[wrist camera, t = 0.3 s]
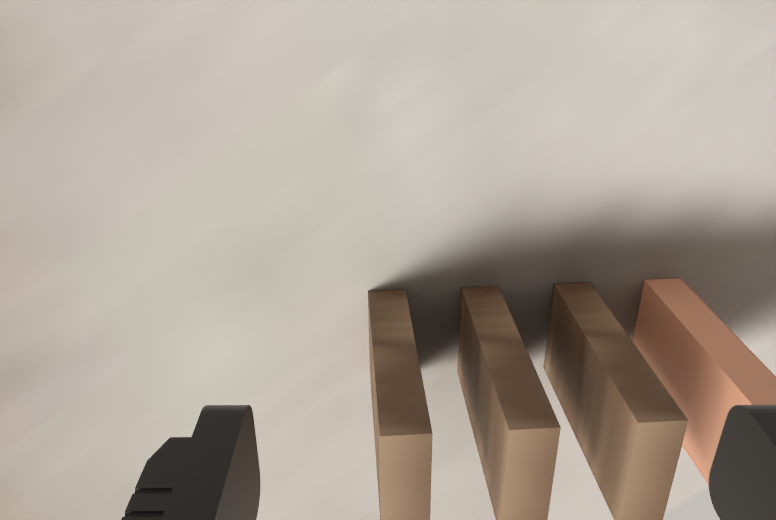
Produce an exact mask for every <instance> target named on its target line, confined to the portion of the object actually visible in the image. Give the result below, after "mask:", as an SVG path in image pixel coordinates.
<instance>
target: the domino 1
mask: <svg viewBox="0 0 776 520" xmlns="http://www.w3.org/2000/svg"><path fill="white" fill-rule="evenodd" d="M368 307H369V344H370V378H371V393H372V407H373V421H374V435H375V449H376V464H377V478H378V492H379V506H380V520H430V499H431V463H432V429H431V424H430V418H429V413H428V408H427V402H426V397H425V391H424V386H423V380H422V375H421V370H420V364H419V359H418V353H417V348H416V343H415V337H414V332H413V326H412V321H411V316H410V310H409V305H408V299H407V294H406V290H383V291H368Z"/></svg>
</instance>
